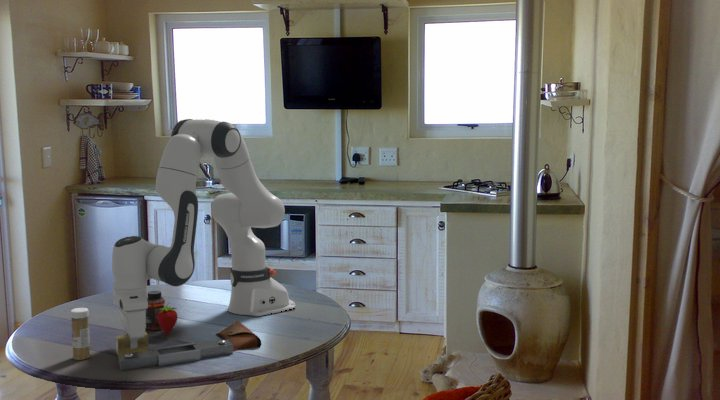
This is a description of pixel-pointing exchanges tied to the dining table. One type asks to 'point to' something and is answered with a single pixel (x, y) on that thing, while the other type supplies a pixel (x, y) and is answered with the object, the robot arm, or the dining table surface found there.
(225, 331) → the sunglasses case
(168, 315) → the strawberry
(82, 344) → the sprinkles bottle
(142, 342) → the khaki rectangular block
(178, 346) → the grey slotted link bar
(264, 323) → the dining table surface
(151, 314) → the supplement bottle
